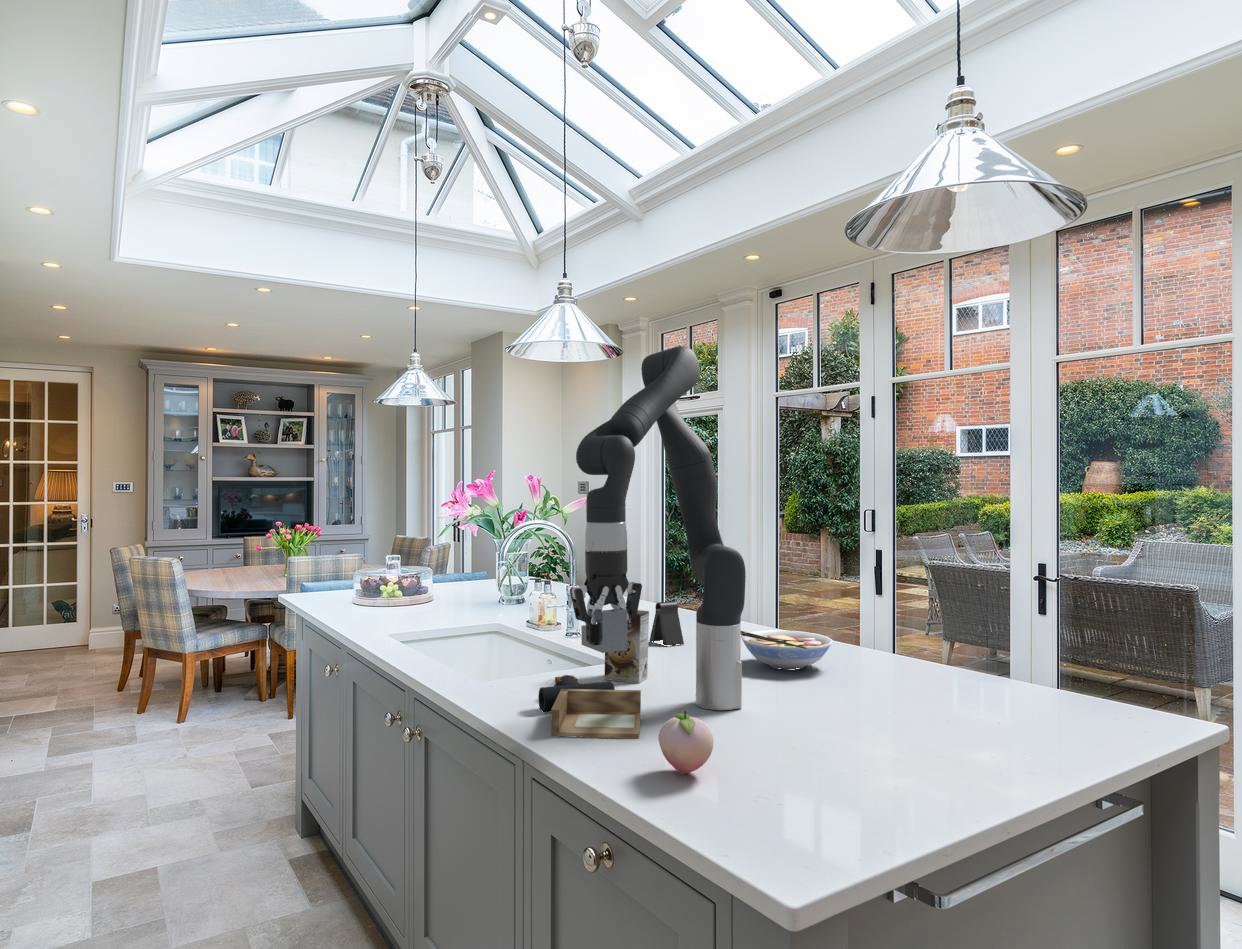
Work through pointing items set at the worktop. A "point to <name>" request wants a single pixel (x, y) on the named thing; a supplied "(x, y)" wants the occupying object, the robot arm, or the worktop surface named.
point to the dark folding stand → (667, 624)
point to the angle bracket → (609, 631)
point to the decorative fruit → (685, 742)
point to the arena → (596, 713)
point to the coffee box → (631, 652)
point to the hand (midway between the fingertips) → (606, 642)
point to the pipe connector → (566, 682)
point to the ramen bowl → (786, 647)
